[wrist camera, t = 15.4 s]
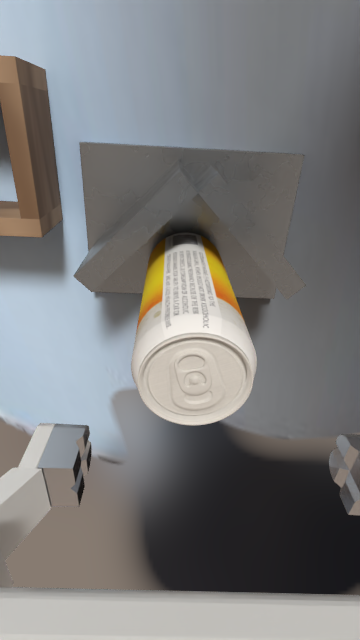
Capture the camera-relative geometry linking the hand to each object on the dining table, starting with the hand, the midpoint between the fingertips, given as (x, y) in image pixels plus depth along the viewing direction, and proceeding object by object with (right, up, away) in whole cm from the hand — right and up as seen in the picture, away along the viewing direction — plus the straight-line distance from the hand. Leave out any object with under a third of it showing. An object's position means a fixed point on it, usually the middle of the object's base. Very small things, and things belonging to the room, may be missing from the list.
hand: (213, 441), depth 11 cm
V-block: (0, +12, +17) cm, 20 cm away
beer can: (-1, +9, +18) cm, 20 cm away
